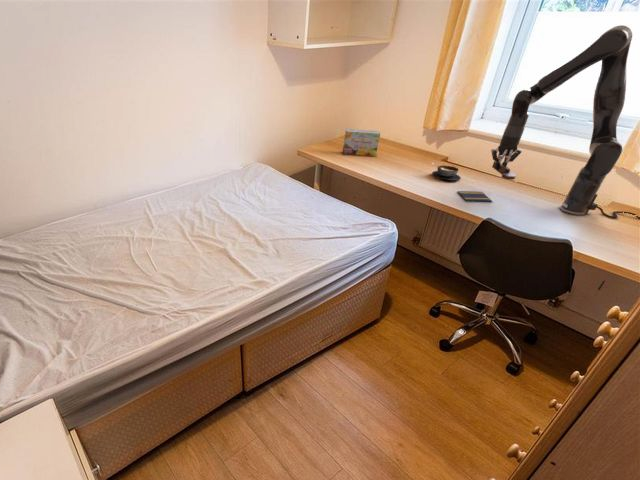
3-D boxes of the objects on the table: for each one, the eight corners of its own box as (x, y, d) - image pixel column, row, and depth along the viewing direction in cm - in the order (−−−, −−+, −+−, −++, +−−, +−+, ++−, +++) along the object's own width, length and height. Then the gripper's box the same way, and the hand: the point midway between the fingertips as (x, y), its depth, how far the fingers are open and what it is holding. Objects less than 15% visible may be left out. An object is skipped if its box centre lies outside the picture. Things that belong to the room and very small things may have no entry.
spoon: (488, 167, 195) (490, 161, 193) (499, 167, 194) (502, 161, 193) (504, 179, 181) (507, 173, 179) (517, 179, 180) (519, 173, 178)
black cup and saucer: (452, 184, 204) (457, 171, 200) (424, 176, 214) (427, 163, 209) (464, 177, 212) (469, 164, 208) (436, 170, 222) (440, 157, 218)
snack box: (342, 154, 247) (345, 130, 239) (342, 151, 252) (345, 128, 243) (375, 157, 242) (380, 133, 234) (375, 154, 247) (380, 130, 238)
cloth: (481, 193, 194) (482, 191, 194) (491, 202, 185) (492, 200, 185) (457, 192, 195) (457, 190, 195) (465, 201, 186) (466, 199, 186)
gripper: (501, 136, 178) (488, 171, 188) (532, 136, 177) (517, 172, 187) (493, 132, 184) (481, 166, 194) (523, 132, 183) (510, 167, 193)
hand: (499, 169), depth 190 cm, fingers closed on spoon, 2 cm apart
